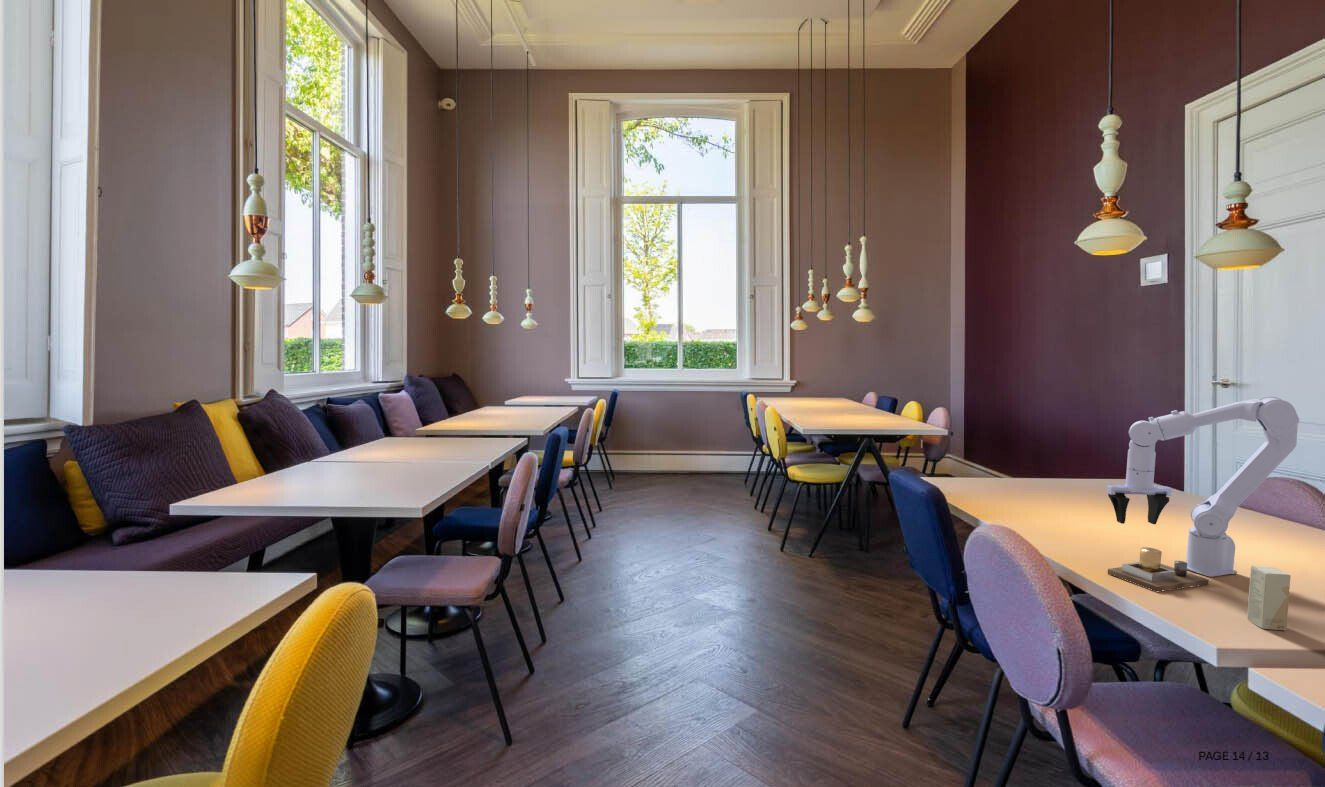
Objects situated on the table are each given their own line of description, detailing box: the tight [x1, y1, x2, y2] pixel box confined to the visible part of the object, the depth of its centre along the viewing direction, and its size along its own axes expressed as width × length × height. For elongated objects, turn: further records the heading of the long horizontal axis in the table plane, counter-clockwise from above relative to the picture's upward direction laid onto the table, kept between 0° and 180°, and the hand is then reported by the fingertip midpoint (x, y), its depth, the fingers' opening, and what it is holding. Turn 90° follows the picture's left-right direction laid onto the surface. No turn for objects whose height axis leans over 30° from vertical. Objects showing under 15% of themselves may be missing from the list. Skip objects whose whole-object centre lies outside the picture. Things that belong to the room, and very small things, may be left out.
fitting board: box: [1107, 560, 1209, 592], centre depth 164 cm, size 16×12×4 cm
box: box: [1246, 565, 1292, 631], centre depth 138 cm, size 5×4×11 cm
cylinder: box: [1138, 546, 1162, 573], centre depth 162 cm, size 4×4×6 cm
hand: (1136, 522), depth 177 cm, fingers open, 7 cm apart
